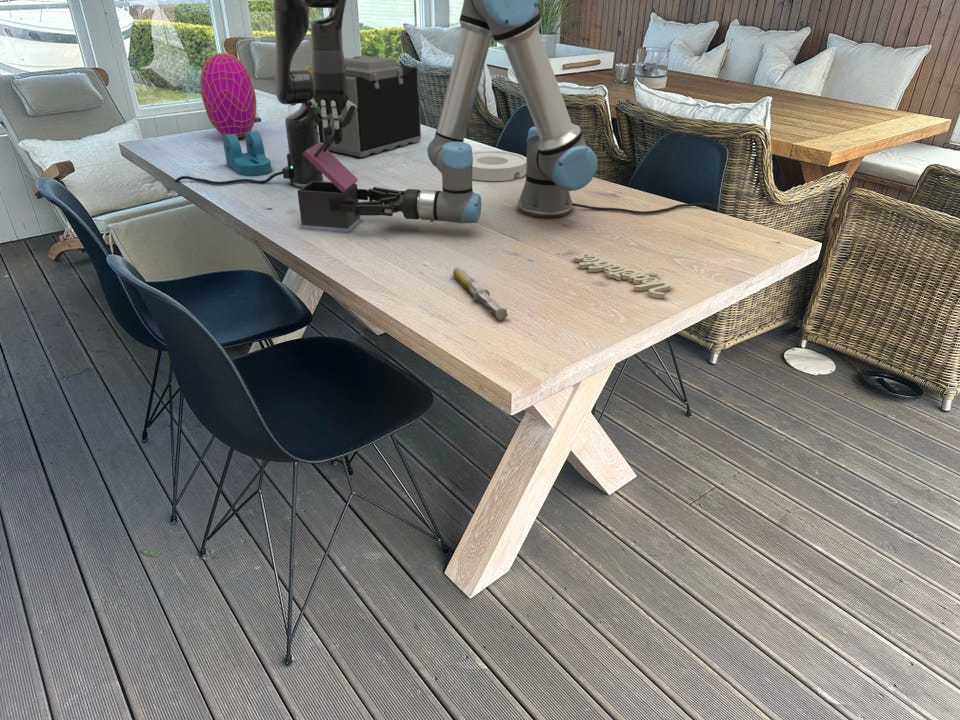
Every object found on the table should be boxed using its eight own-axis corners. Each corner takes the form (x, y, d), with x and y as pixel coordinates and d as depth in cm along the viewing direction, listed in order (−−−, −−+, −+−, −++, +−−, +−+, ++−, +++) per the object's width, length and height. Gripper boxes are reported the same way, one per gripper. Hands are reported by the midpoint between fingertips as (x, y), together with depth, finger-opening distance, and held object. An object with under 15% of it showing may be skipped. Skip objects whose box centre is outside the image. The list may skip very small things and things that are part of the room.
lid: (302, 154, 170) (320, 130, 166) (316, 145, 178) (334, 123, 174) (342, 193, 173) (361, 171, 169) (355, 182, 181) (373, 161, 177)
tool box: (383, 133, 276) (378, 52, 261) (425, 141, 265) (422, 56, 250) (314, 150, 251) (304, 61, 235) (358, 160, 240) (350, 67, 224)
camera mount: (227, 164, 233) (221, 132, 227) (257, 160, 238) (252, 129, 233) (244, 176, 220) (239, 143, 215) (276, 172, 225) (271, 139, 220)
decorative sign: (686, 282, 150) (660, 295, 144) (686, 286, 150) (659, 300, 144) (592, 249, 166) (565, 259, 160) (592, 253, 167) (565, 263, 161)
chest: (301, 228, 180) (297, 190, 175) (315, 217, 188) (311, 180, 183) (348, 232, 178) (344, 194, 173) (360, 220, 186) (357, 183, 181)
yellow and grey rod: (449, 274, 155) (449, 263, 153) (465, 272, 156) (464, 260, 154) (490, 323, 135) (491, 310, 133) (508, 319, 136) (508, 307, 134)
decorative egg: (226, 145, 255) (211, 58, 240) (200, 137, 266) (184, 53, 251) (271, 137, 268) (259, 54, 252) (244, 129, 279) (231, 49, 263)
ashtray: (459, 161, 239) (459, 150, 237) (525, 163, 239) (526, 151, 237) (455, 180, 219) (455, 167, 217) (527, 181, 219) (528, 169, 217)
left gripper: (295, 69, 160) (302, 144, 169) (350, 73, 158) (354, 149, 167) (308, 64, 167) (314, 137, 176) (361, 68, 165) (365, 142, 174)
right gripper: (409, 233, 168) (322, 226, 172) (431, 206, 186) (352, 200, 190) (407, 203, 164) (319, 197, 168) (430, 178, 183) (350, 173, 186)
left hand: (334, 143), depth 172 cm, fingers closed
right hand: (337, 198), depth 179 cm, fingers closed on chest, 9 cm apart
